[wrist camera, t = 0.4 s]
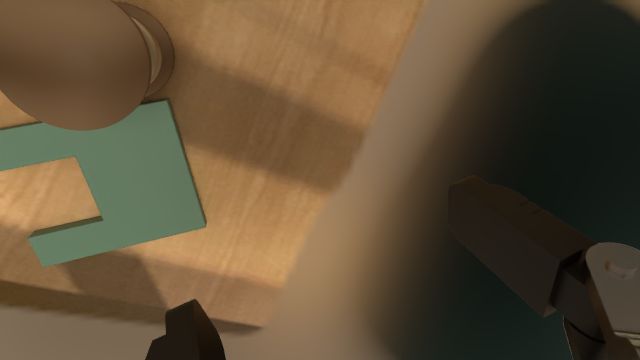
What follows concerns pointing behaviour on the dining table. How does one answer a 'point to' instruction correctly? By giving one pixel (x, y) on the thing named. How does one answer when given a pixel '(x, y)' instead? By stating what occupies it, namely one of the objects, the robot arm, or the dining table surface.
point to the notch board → (114, 181)
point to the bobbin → (81, 60)
